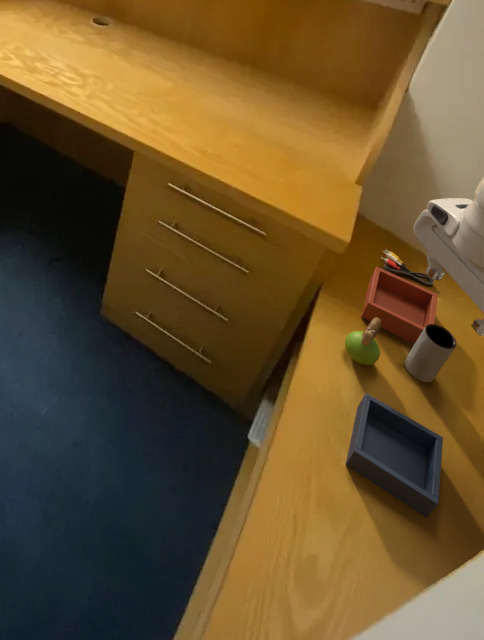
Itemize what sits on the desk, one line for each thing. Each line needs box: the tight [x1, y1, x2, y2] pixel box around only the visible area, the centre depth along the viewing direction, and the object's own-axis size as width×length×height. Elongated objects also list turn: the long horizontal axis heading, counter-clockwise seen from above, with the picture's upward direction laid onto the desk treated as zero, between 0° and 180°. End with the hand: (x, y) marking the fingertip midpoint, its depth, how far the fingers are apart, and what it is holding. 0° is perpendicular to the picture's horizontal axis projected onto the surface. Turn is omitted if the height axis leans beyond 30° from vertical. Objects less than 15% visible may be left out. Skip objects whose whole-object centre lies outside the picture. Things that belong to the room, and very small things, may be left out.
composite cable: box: [380, 249, 435, 287], centre depth 109 cm, size 10×5×2 cm, turn 43°
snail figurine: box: [344, 317, 381, 366], centre depth 91 cm, size 5×6×12 cm
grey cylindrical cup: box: [404, 323, 457, 383], centre depth 90 cm, size 4×4×10 cm
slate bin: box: [345, 392, 444, 519], centre depth 79 cm, size 11×11×5 cm
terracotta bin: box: [360, 266, 439, 345], centre depth 101 cm, size 11×11×5 cm
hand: (454, 302), depth 80 cm, fingers open, 8 cm apart
